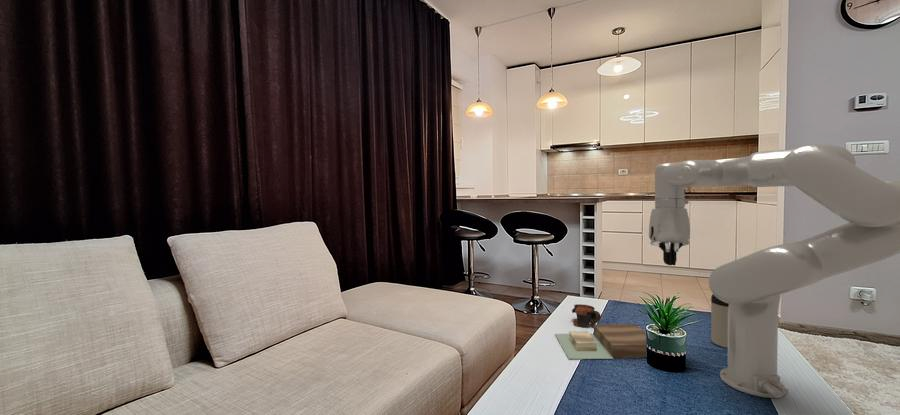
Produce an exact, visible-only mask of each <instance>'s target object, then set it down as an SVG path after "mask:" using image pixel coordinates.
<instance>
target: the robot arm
mask: <svg viewBox="0 0 900 415" xmlns="http://www.w3.org/2000/svg"><path fill="white" fill-rule="evenodd" d="M856 161H857V160H856V158H855V157H854V154H853V153H852V152H851V151H849V149H846V148H845V147H841V146H840V145H839V146H837V145H830V144H829V145H828V144H807V145H801V146H800V147H797V148H790V149H778V150H768V151H765V150H764V151H757V152H753V153H751V154H750V155H747V156H743V157H735V158H723V159H690V160H689V159H688V160H684V161H678V162H668V163H667V162H665V163H660V164H657V165H656V166H655V167H654V208H652V209H651V211H650V212H651V213H650V216H649V222H648V223H649V225H648V238H649V240H650V245H651V246H655V247H658V248H659V249H660V250H661V251H663V252H662V253H663V257H662V260H663V262H664V264H665V265H667V266H676V262H677V253H678V252H679V250H680V249H681V248H682V247H685V246H689V245H690V239H691V226H690V225H691V224H690V219H689V218H690V217H689V213H688V209H687V208H686V205H688V204H689V203H690V201H689V199H686V198H685V188H699V187H721V186H723V187H724V186H750V187H753V188H765V187H767V188H769V187H770V188H771V187H772V188H774V187H795V188H797V189H798V190H799V191H801V192H802V193H804V195H806V196H808V197H809V198H810V199H812V200H814V201H815V202H817V203H818V204H820V205H821V206H823V207H824V208H826V209H827V210H829V211H830V212H832V213H833V214H835V216H838V217H839V218H841V219H842V220H844V221H847V223H846V224H843V225H840V226H836V227H835V228H832V229H828V230H826V231H825V232H822V233H820V234H817V235H814V236H811V237H808V238H806V239H803V240H799V241H795V242H788V243H784V244H782V243H781V244H778V245H774V246H773V245H772V246H769V247H767V248H763V249H761V250H760V249H759V250H758V251H755V252H752V253H750V254H748V255H745V256H743V257H740V258H738V259H734V260H732V261H729V262H727V263H724V264H722V265H719V266H718V267H716V268H715V269H713V271H712V272H711V273H710V275H709V278H708V286H709V287H708V288H709V290H710V292H711V293H712V295H714V296H715V297H717V298H718V299H719V300H721V301H723V302H725V303H728V304H729V306H728V348H727V367H725V368H723V369H721V370H720V372H719V376H720V379H721V381H722V382H723V383H725V384H726V385H727V386H729V387H732V388H733V389H735V390H738V391H740V392H743V393H744V394H747V395H752V396H756V397H760V398H769V399H771V398H772V399H773V398H774V399H780V398H782V397H784V396H785V395H787V394H788V393H789V389H788V388H786V386H785V383H783V382H782V381H781V376H780V375H778V345H779V344H778V343H779V342H778V341H779V340H778V331H779V311H780V310H779V308H780V301H781V298H782V297H781V296H782V294H785V293H789V292H792V291H795V290H799V289H802V288H806V287H809V286H811V285H814V284H816V283H819V282H821V281H823V280H825V279H827V278H831V277H834V276H837V275H840V274H843V273H846V272H851V271H854V270H856V269H859V268H862V267H865V266H868V265H871V264H875V263H878V262H881V261H884V260H886V259H888V258H889V259H890V258H891V257H893V256H895V255H898V254H900V180H894V179H892V180H887V179H885V180H881V179H880V178H879V177H876V176H874V175H872V174H871V173H869V172H867V171H866V170H863V169H861V168H860V167H858V166H857V162H856Z"/></svg>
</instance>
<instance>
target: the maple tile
mask: <svg viewBox="0 0 900 415" xmlns="http://www.w3.org/2000/svg"><path fill="white" fill-rule="evenodd" d="M568 334H569V339H570V340H571V342H572V344H573V345H574V347H575V348H576V350H577V351H597V343H596V342H595V340H594V339H593V338H592V336H591V335H590V334H589V331H585V330H584V331H579V330H578V331H576V330H575V331H568Z"/></svg>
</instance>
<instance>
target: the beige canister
mask: <svg viewBox="0 0 900 415" xmlns="http://www.w3.org/2000/svg"><path fill="white" fill-rule="evenodd" d="M710 299H711V301H710V302H711V303H710V304H711V306H710V307H711V310H710V312H711V315H710V316H711V318H710V319H711V324H710V328H711V329H710V331H711V333H710V334H711V338H710V340H711V342H712V343H713V344H715V345H716V346H720V347H722V348H724V349H725V348H726V349H728V306H729V304H728V303H725V302H723V301H721V300H719V299H718V298H717V297H715V296H714V295H713V294H712V295H711V298H710Z"/></svg>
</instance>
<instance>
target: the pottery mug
mask: <svg viewBox="0 0 900 415" xmlns="http://www.w3.org/2000/svg"><path fill="white" fill-rule="evenodd" d="M573 307H574V308H572V310H571V312H572V314H574V313H575V314H576V318H574V319H573V320H572V322H573V326H578V327H582V328H587V329H589V328H590V325H592V326H594V324H597V323H599V321H600V320H601V313H600V312H599V311H597V310H595V309H596V308H595V307H594V306H592V305H588V304H574V305H573Z"/></svg>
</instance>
